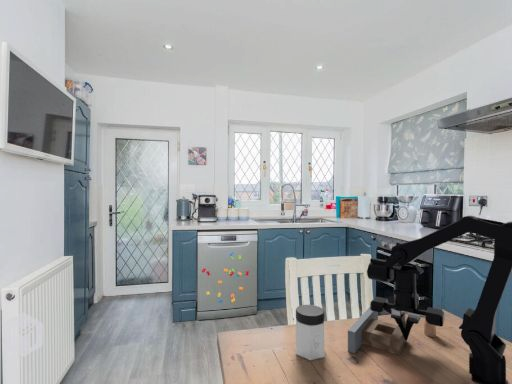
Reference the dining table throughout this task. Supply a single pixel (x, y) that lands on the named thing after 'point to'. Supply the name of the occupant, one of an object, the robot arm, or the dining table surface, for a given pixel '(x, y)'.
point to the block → (384, 336)
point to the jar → (310, 332)
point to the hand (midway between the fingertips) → (406, 339)
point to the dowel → (429, 329)
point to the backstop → (359, 330)
